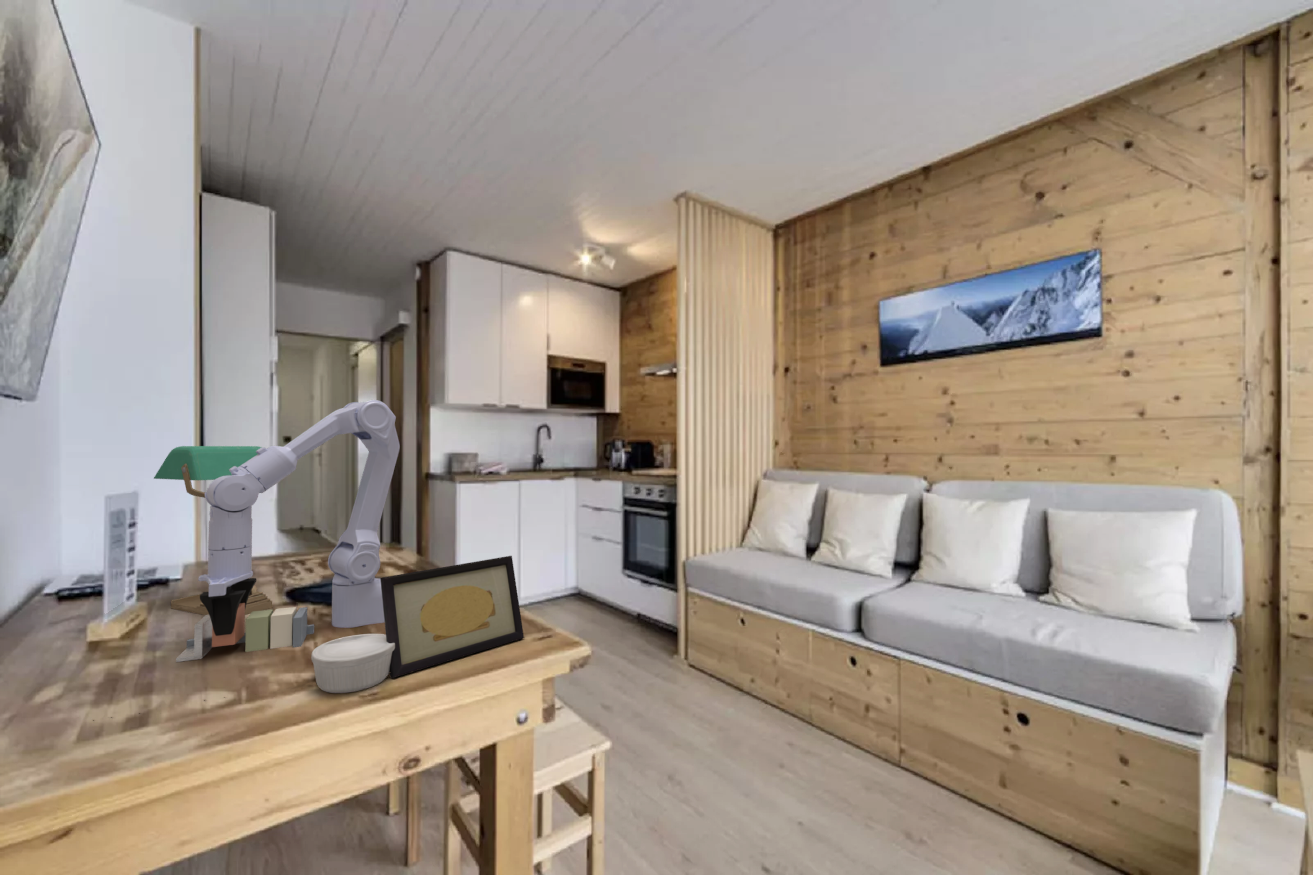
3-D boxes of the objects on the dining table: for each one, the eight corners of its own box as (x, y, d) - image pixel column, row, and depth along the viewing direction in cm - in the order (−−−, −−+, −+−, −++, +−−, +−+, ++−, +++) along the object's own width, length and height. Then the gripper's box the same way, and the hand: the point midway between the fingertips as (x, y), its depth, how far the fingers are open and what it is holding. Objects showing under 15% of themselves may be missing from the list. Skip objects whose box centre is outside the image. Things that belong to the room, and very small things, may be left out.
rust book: (244, 635, 92) (244, 602, 92) (234, 644, 88) (235, 610, 88) (222, 637, 91) (223, 604, 91) (211, 647, 86) (212, 612, 87)
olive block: (272, 640, 94) (273, 609, 94) (267, 649, 90) (267, 616, 90) (251, 643, 92) (252, 611, 93) (245, 652, 88) (245, 619, 89)
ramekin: (377, 659, 89) (377, 627, 89) (409, 678, 81) (409, 643, 82) (299, 682, 80) (299, 647, 80) (327, 705, 73) (328, 666, 73)
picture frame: (393, 679, 81) (390, 578, 82) (371, 669, 87) (368, 575, 88) (524, 639, 98) (520, 556, 99) (498, 633, 104) (494, 554, 105)
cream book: (296, 637, 95) (296, 606, 95) (291, 646, 91) (292, 613, 91) (275, 640, 94) (276, 609, 94) (270, 649, 90) (270, 616, 90)
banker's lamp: (208, 625, 105) (211, 446, 105) (145, 612, 112) (148, 445, 113) (288, 603, 119) (291, 446, 120) (228, 593, 127) (230, 446, 127)
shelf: (314, 638, 98) (314, 605, 98) (307, 653, 91) (307, 617, 91) (188, 654, 90) (188, 618, 90) (169, 672, 83) (170, 633, 83)
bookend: (212, 646, 91) (213, 614, 91) (201, 658, 86) (202, 624, 86) (188, 649, 89) (189, 616, 89) (176, 662, 84) (176, 627, 84)
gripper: (213, 542, 94) (212, 619, 94) (184, 557, 81) (182, 647, 81) (262, 539, 97) (261, 614, 97) (241, 553, 84) (240, 640, 84)
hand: (229, 629), depth 89 cm, fingers closed on rust book, 5 cm apart
